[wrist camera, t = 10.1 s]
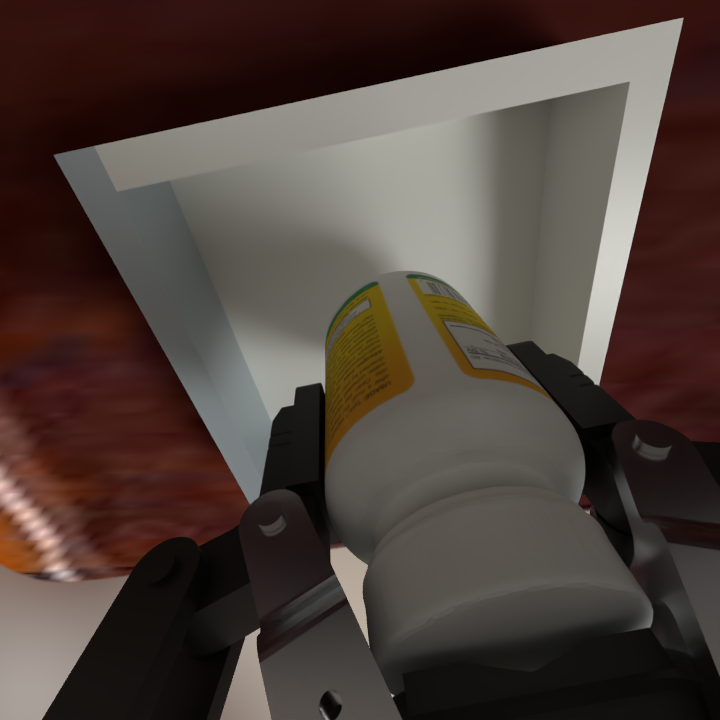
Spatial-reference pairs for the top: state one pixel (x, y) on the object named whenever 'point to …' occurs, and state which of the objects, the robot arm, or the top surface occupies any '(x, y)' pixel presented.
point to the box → (383, 216)
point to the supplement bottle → (460, 490)
